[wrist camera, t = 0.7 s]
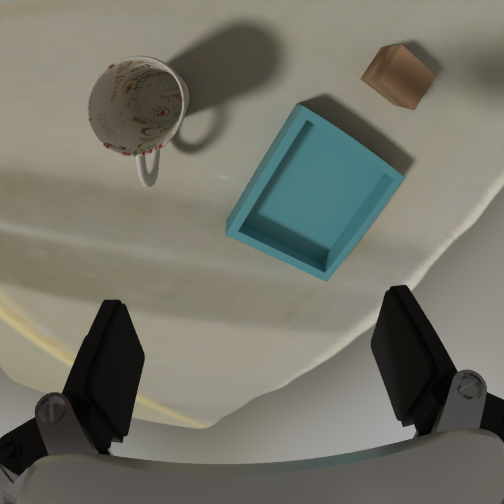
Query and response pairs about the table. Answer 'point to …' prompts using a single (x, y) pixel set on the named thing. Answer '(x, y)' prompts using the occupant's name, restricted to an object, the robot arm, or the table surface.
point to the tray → (312, 195)
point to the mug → (138, 109)
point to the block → (398, 76)
